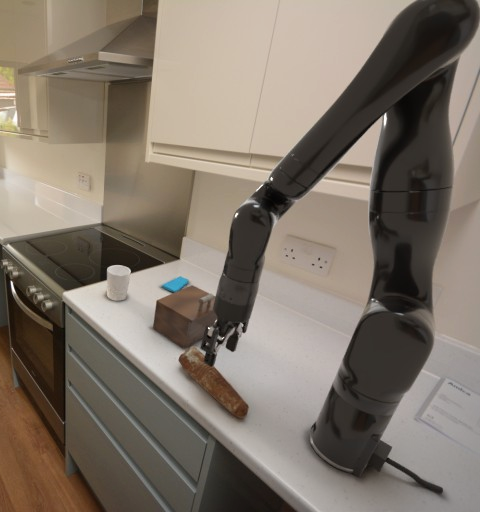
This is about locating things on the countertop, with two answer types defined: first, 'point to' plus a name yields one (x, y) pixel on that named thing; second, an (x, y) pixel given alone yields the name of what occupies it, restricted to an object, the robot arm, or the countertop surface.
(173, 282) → the sponge
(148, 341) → the countertop surface
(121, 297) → the white cup
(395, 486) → the countertop surface
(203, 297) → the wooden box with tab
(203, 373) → the bread
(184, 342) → the bread bin
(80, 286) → the countertop surface
